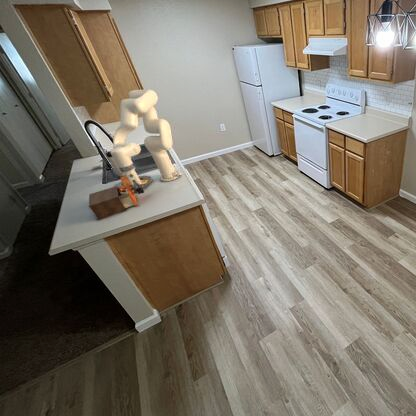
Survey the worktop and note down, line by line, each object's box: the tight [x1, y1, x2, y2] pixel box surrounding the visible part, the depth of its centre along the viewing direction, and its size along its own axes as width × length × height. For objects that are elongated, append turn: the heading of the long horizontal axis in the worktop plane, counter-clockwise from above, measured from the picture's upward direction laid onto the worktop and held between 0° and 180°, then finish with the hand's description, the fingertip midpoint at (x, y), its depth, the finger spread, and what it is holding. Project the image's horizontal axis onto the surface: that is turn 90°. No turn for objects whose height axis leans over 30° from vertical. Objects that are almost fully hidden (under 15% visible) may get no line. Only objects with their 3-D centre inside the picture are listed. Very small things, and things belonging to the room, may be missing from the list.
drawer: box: [118, 183, 139, 209], centre depth 166 cm, size 17×16×10 cm
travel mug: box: [105, 150, 126, 178], centre depth 198 cm, size 6×7×20 cm
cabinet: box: [88, 185, 127, 221], centre depth 163 cm, size 14×17×10 cm
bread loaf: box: [119, 176, 131, 186], centre depth 184 cm, size 8×5×6 cm, turn 126°
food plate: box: [113, 175, 153, 195], centre depth 186 cm, size 25×23×4 cm
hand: (141, 192), depth 171 cm, fingers closed
